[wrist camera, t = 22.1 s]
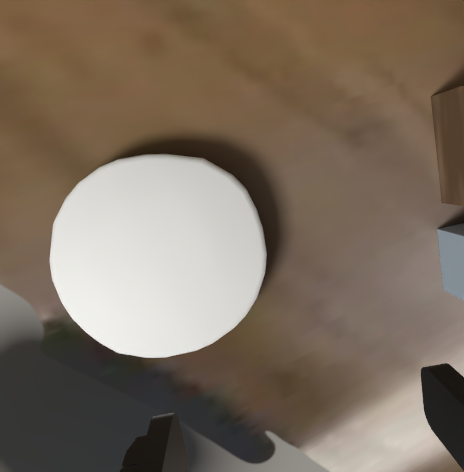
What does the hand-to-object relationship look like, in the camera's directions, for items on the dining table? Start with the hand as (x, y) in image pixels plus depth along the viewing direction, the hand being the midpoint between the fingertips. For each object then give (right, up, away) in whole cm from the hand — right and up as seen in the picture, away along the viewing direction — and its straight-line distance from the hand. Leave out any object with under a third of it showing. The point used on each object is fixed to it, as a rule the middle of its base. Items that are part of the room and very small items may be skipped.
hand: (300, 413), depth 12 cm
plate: (-12, +3, +38) cm, 39 cm away
